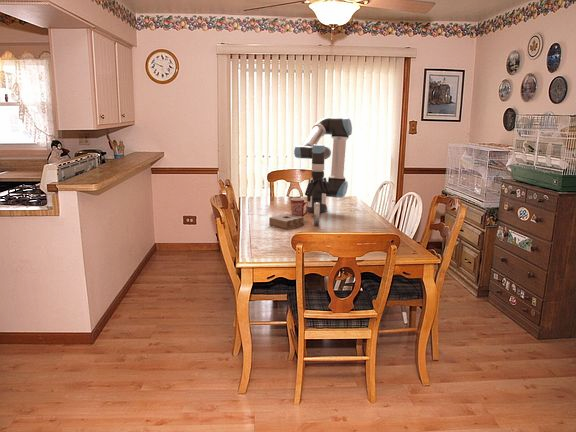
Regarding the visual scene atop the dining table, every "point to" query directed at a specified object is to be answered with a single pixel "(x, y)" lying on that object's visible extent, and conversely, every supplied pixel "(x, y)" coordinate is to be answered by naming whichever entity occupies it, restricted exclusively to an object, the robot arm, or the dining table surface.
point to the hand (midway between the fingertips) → (316, 205)
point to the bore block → (286, 221)
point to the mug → (298, 206)
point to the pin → (316, 213)
